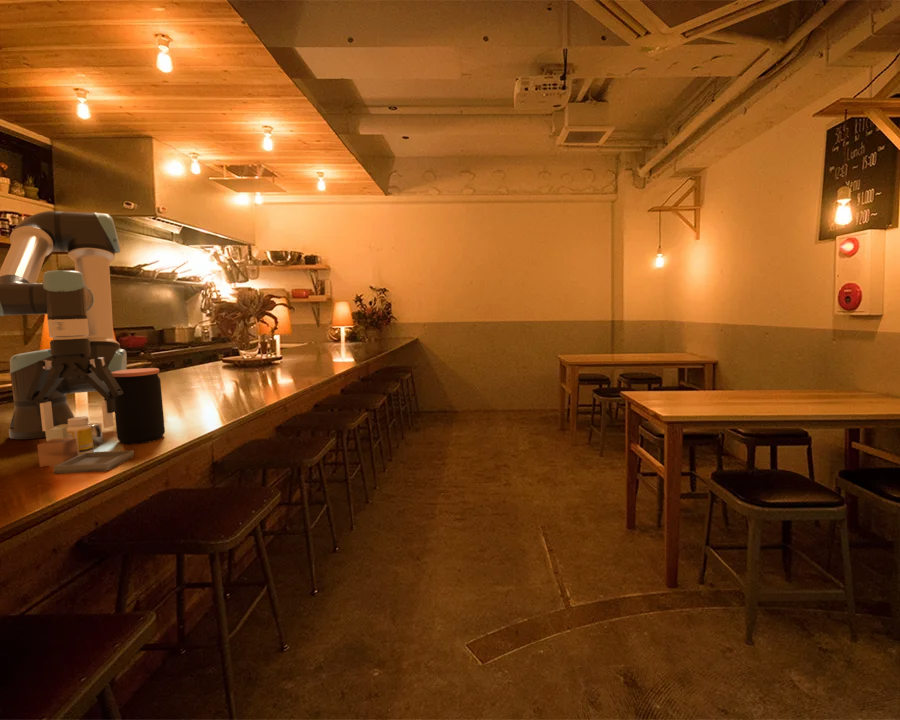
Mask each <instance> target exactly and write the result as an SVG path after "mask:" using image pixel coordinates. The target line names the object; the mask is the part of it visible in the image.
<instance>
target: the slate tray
mask: <svg viewBox="0 0 900 720" xmlns="http://www.w3.org/2000/svg"><path fill="white" fill-rule="evenodd" d="M133 456H134V457H135V451H134V450H133V449H131V450H109V451H108V450H105V451H92V452H85V453H82V454H80V455H78V456H76V457H74V458H71V459H69V460H67V461H65V462H63V463H60V464H58V465H56V466H53V474H54V475H55V474H72V473H73V474H74V473H76V472H77V473H93V472H92V471H97V472H108V471H107V470H109V469H110V470H112V469H114V468H116V467H117V465H118V466H120V465H121V464H123V463H125V462H127V461H128V459H129V460H130V458H131V457H132V458H134V457H133ZM132 458H131V459H132ZM126 460H127V461H126ZM124 461H125V462H124ZM122 462H123V463H122ZM120 463H121V464H120ZM119 464H120V465H119ZM115 466H116V467H115ZM113 467H114V468H113ZM111 468H112V469H111ZM110 470H109V471H110Z"/></svg>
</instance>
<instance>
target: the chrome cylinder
mask: <svg viewBox="0 0 900 720" xmlns="http://www.w3.org/2000/svg"><path fill="white" fill-rule="evenodd" d="M88 424H89V425H91V429H92V438H93V447H95V446H94V445H97V446H100V445H99V444H101V445H103V444H104V435H103V427H102V426H103V425H102V423H101V422H95V423H88ZM102 443H103V444H102Z"/></svg>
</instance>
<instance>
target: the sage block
mask: <svg viewBox="0 0 900 720" xmlns="http://www.w3.org/2000/svg"><path fill="white" fill-rule="evenodd" d="M68 427H69V425H68V424H61V425H58V426H55V427H54V429H51V430H48V431H45V433H46V437H45V442H46V441H49V440H52V439H65V438H68V437H67V428H68Z"/></svg>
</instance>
